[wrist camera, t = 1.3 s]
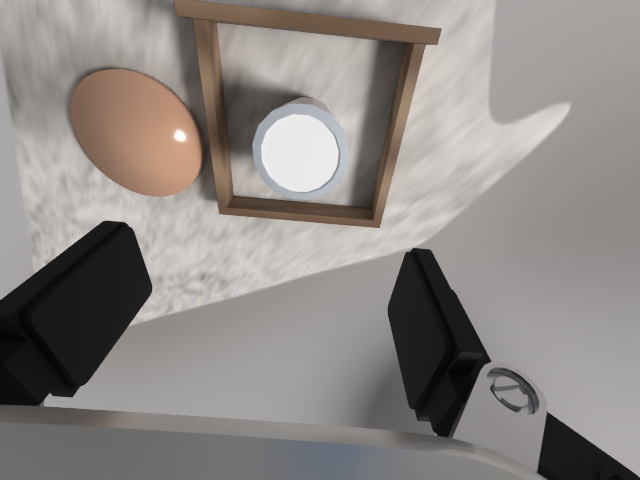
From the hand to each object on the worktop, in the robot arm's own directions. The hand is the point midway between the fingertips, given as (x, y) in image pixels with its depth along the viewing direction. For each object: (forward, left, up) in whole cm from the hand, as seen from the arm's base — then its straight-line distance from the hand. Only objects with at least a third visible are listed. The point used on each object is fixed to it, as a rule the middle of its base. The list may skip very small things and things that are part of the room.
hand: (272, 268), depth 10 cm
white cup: (0, 0, -19) cm, 19 cm away
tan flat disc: (+2, -15, -19) cm, 24 cm away
